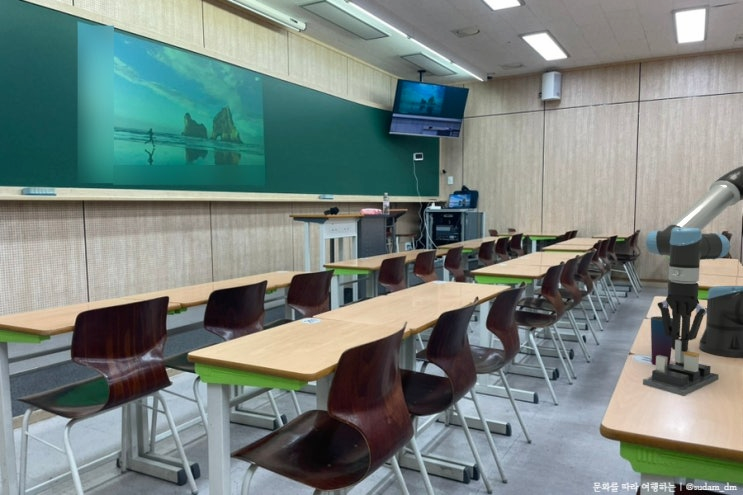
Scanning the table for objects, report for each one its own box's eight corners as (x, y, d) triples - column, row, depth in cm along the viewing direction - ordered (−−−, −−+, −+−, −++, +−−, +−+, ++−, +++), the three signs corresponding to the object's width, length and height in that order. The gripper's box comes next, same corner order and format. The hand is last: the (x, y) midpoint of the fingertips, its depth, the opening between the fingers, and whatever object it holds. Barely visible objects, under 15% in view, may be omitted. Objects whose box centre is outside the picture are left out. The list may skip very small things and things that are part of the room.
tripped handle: (686, 368, 151) (687, 350, 150) (698, 370, 148) (699, 353, 148) (683, 369, 149) (684, 352, 149) (695, 372, 147) (696, 354, 146)
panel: (678, 369, 162) (680, 344, 161) (718, 379, 153) (720, 352, 152) (642, 384, 149) (644, 356, 148) (683, 395, 140) (685, 366, 139)
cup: (645, 364, 167) (648, 318, 166) (652, 359, 172) (654, 315, 171) (669, 369, 163) (671, 322, 161) (675, 364, 167) (677, 318, 166)
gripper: (653, 279, 152) (649, 358, 154) (702, 285, 142) (697, 369, 144) (666, 277, 157) (662, 353, 159) (714, 283, 146) (709, 364, 148)
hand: (679, 361), depth 151 cm, fingers closed
